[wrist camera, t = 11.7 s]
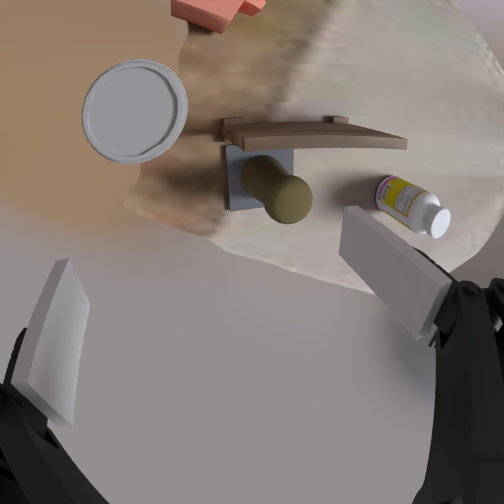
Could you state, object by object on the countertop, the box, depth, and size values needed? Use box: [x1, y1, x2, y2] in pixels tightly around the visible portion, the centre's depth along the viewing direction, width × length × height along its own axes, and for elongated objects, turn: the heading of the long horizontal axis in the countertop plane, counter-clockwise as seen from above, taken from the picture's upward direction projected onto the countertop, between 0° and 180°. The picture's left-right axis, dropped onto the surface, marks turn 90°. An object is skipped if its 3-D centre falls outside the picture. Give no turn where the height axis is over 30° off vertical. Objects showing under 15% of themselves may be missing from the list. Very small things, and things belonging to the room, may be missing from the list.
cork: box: [240, 155, 313, 224], centre depth 32 cm, size 6×6×11 cm
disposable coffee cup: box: [82, 59, 188, 164], centre depth 24 cm, size 10×10×12 cm
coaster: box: [225, 144, 293, 212], centre depth 37 cm, size 9×9×1 cm
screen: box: [220, 116, 407, 152], centre depth 30 cm, size 3×18×13 cm, turn 92°
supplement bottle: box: [376, 176, 450, 238], centre depth 39 cm, size 7×7×13 cm
